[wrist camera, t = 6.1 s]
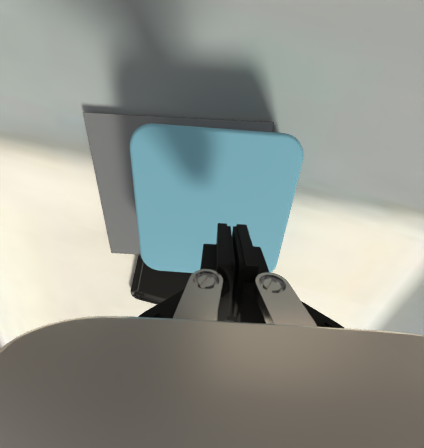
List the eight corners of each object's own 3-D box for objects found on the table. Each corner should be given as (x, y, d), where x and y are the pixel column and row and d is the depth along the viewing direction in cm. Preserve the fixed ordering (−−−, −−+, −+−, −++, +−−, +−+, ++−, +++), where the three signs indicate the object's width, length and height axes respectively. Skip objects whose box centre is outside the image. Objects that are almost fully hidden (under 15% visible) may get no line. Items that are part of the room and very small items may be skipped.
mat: (272, 122, 17) (273, 122, 17) (251, 257, 23) (251, 260, 23) (87, 113, 17) (83, 112, 17) (113, 249, 23) (111, 252, 23)
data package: (288, 133, 17) (147, 123, 17) (310, 135, 13) (125, 121, 13) (263, 252, 22) (155, 244, 22) (273, 280, 18) (141, 270, 18)
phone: (140, 248, 22) (263, 285, 24) (143, 243, 23) (261, 278, 25) (129, 297, 25) (238, 327, 27) (132, 291, 27) (237, 320, 28)
